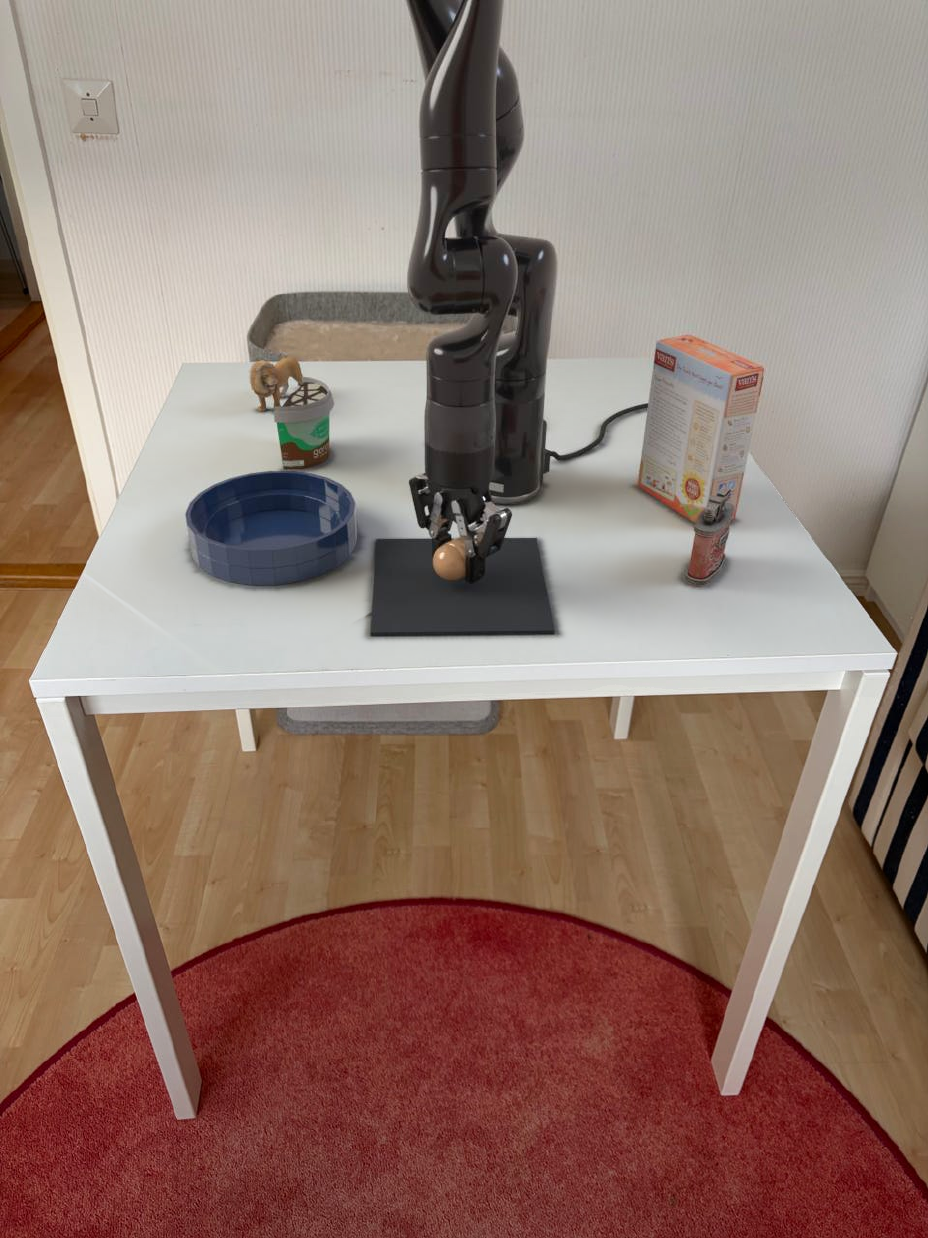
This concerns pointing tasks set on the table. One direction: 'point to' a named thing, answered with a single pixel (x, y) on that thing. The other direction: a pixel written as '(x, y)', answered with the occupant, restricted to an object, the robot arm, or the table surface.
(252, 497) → the basin
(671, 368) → the cracker box
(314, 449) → the food container
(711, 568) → the lighter
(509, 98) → the robot arm
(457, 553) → the bread roll
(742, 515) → the table surface
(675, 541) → the table surface
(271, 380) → the lion figurine
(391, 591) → the mat
